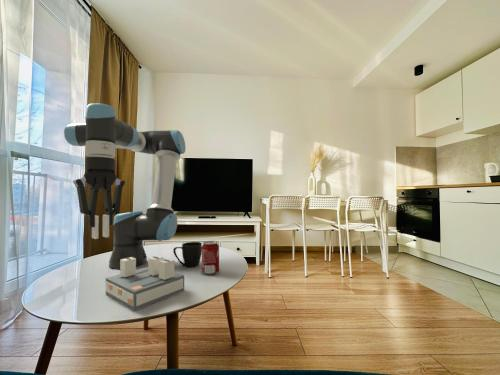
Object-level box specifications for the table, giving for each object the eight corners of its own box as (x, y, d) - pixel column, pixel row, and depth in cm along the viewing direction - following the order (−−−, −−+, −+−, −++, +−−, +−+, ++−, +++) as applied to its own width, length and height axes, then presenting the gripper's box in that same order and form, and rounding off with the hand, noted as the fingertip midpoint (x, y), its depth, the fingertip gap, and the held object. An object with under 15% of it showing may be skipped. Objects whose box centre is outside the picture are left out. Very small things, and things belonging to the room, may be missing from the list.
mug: (170, 266, 102) (170, 244, 102) (197, 262, 109) (197, 241, 109) (176, 271, 95) (176, 247, 95) (204, 266, 102) (204, 244, 102)
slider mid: (148, 273, 77) (148, 257, 77) (158, 271, 80) (158, 255, 80) (153, 275, 75) (153, 259, 75) (163, 272, 78) (163, 256, 78)
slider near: (158, 277, 73) (158, 260, 73) (168, 274, 76) (168, 258, 76) (164, 279, 71) (164, 262, 71) (174, 276, 74) (174, 259, 74)
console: (104, 294, 74) (104, 277, 74) (153, 279, 87) (153, 265, 87) (133, 311, 63) (133, 292, 63) (184, 291, 76) (184, 274, 76)
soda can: (215, 276, 89) (215, 244, 90) (198, 275, 91) (198, 243, 91) (221, 270, 96) (221, 240, 96) (205, 269, 97) (205, 240, 98)
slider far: (120, 275, 76) (120, 258, 76) (131, 272, 78) (131, 256, 79) (124, 277, 74) (124, 260, 74) (135, 274, 77) (135, 257, 77)
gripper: (74, 152, 62) (74, 243, 62) (132, 159, 75) (132, 235, 74) (65, 155, 67) (64, 240, 66) (121, 161, 79) (121, 232, 78)
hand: (100, 237), depth 70 cm, fingers open, 2 cm apart
